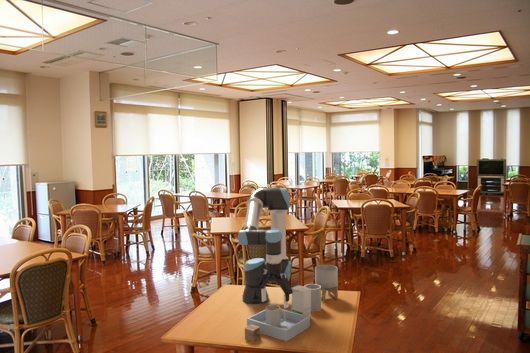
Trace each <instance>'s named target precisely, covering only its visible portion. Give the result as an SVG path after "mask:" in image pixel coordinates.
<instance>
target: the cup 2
mask: <svg viewBox="0 0 530 353" xmlns="http://www.w3.org/2000/svg"><path fill="white" fill-rule="evenodd" d="M304 287H307V288H310V289H311V312H319V311H321V310H322V291H321V286H320V285H317V284H315V283H309V284H308V283H307V284H304ZM320 309H321V310H320ZM318 310H319V311H318Z"/></svg>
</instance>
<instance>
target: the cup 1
mask: <svg viewBox="0 0 530 353" xmlns="http://www.w3.org/2000/svg"><path fill="white" fill-rule="evenodd" d="M265 309H266V324H269V325H272V326H275V327H279V326H280V324H281V323H282V322H284V321H285V320H286V312H285V311H284V310H285V309H284V308H281V306H280V305H278V304H269V305H266V306H265ZM280 312H282V314H283V318H282V319H281V316H280Z"/></svg>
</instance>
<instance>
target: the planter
mask: <svg viewBox="0 0 530 353" xmlns="http://www.w3.org/2000/svg"><path fill="white" fill-rule="evenodd" d="M338 271H339V270H338V267H337V266H336V265H334V264H333V265H332V264H320V265H319V264H318V265H316V266H315V267H314V282H315V283H314V284H317V285H320V286H321V302H323V301H325V302H326V296H327V295H328V296H331V295H332V294H333V296H334V300H335V299H337V300H338V299H339V297H338V296H339V292H338V290H339V287H338V285H339V282H338V281H339V277H338V275H339V274H338Z"/></svg>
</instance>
